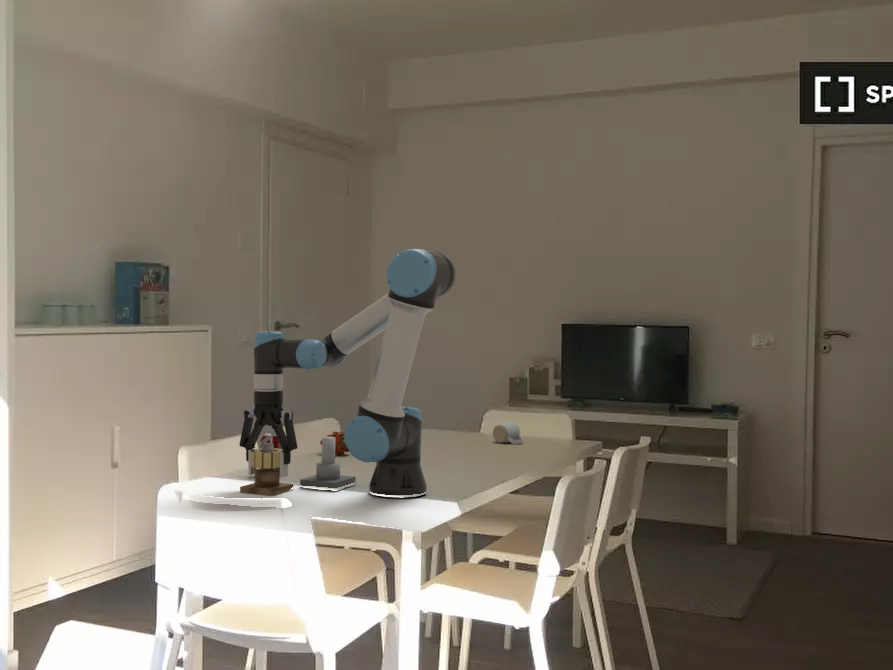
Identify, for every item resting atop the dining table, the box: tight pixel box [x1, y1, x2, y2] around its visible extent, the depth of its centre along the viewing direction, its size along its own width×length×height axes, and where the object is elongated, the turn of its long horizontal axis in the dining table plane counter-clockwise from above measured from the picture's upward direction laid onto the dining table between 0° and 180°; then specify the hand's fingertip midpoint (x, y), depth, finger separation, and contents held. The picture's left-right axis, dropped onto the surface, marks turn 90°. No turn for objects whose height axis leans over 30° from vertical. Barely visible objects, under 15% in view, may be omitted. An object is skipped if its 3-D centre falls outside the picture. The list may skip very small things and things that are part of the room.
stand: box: [239, 443, 294, 497], centre depth 257 cm, size 10×10×12 cm
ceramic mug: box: [492, 420, 523, 445], centre depth 361 cm, size 11×8×8 cm
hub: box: [299, 436, 357, 488], centre depth 265 cm, size 11×11×13 cm
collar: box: [251, 448, 283, 469], centre depth 257 cm, size 9×9×4 cm
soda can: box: [259, 432, 282, 470], centre depth 281 cm, size 7×7×12 cm
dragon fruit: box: [319, 430, 350, 456], centre depth 324 cm, size 8×8×12 cm
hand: (268, 475), depth 257 cm, fingers closed on collar, 9 cm apart
